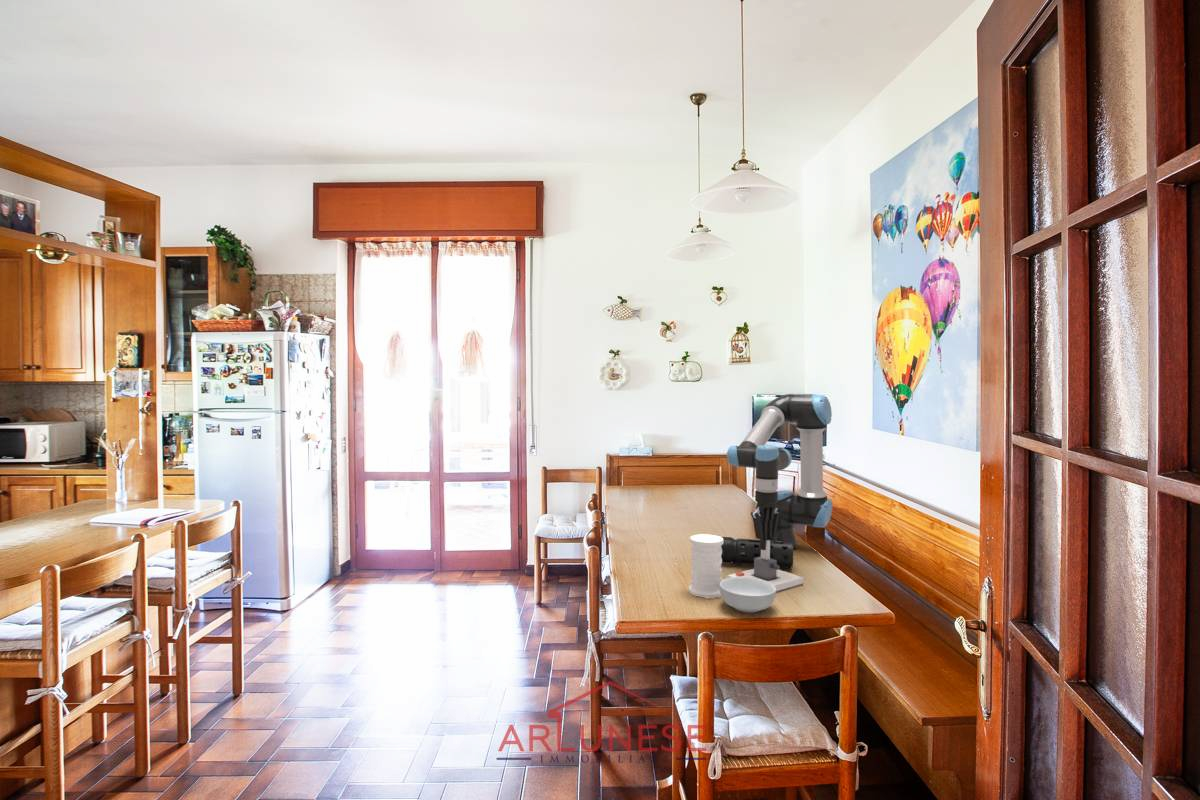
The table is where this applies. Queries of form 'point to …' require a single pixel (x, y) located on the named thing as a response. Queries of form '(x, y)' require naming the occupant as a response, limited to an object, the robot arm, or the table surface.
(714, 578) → the decorative container
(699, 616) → the table surface
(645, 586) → the table surface
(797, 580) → the socket plate
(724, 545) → the muzzle brake
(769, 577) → the plug
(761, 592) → the cereal bowl
